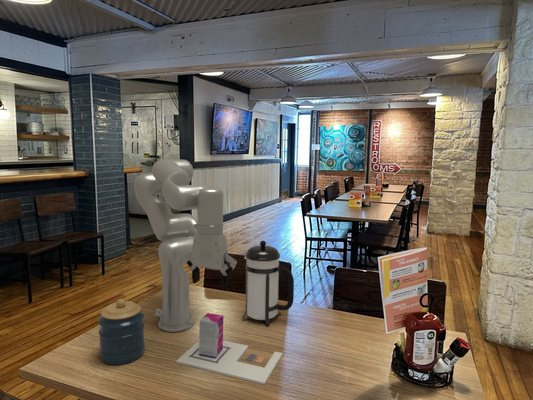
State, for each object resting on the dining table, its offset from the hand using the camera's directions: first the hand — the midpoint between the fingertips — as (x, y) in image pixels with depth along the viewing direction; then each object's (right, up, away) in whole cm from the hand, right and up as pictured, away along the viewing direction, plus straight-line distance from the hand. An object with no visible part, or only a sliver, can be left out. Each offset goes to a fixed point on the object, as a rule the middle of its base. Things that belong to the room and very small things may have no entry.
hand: (210, 284), depth 113 cm
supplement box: (0, -22, +2) cm, 22 cm away
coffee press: (+17, -19, +28) cm, 38 cm away
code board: (+6, -23, 0) cm, 23 cm away
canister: (-27, -22, +2) cm, 35 cm away
